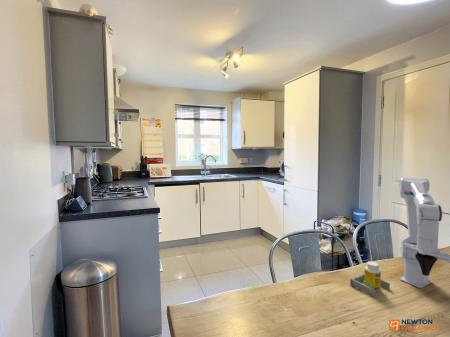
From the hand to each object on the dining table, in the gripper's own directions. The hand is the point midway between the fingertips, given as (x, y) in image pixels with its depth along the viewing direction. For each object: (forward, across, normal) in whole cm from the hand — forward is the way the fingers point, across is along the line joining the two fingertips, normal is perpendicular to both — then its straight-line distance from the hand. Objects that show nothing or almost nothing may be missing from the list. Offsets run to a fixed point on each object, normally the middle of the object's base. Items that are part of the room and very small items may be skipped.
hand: (425, 274), depth 90 cm
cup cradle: (+10, -15, -7) cm, 20 cm away
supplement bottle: (+11, -15, -7) cm, 20 cm away
